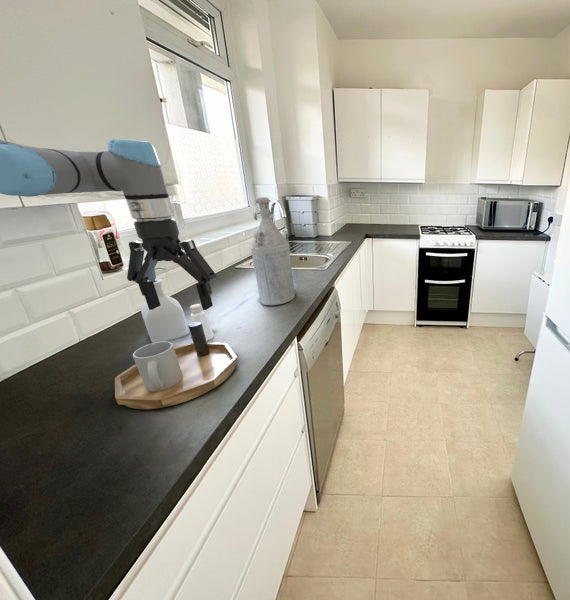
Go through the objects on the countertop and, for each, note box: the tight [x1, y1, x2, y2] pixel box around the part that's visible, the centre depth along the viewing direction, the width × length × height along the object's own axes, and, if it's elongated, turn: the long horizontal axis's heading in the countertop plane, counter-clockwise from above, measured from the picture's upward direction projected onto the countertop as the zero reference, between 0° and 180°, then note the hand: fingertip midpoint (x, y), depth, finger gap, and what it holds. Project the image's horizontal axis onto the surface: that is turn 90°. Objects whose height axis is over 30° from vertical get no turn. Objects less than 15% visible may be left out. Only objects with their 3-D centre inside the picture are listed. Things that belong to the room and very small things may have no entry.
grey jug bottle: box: [249, 196, 296, 306], centre depth 119 cm, size 13×17×40 cm
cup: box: [132, 341, 183, 392], centre depth 70 cm, size 7×10×9 cm
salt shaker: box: [189, 303, 215, 342], centre depth 94 cm, size 5×5×11 cm
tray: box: [114, 322, 239, 410], centre depth 75 cm, size 24×24×10 cm
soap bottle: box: [140, 267, 190, 343], centre depth 93 cm, size 10×10×23 cm
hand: (181, 307), depth 76 cm, fingers open, 13 cm apart
